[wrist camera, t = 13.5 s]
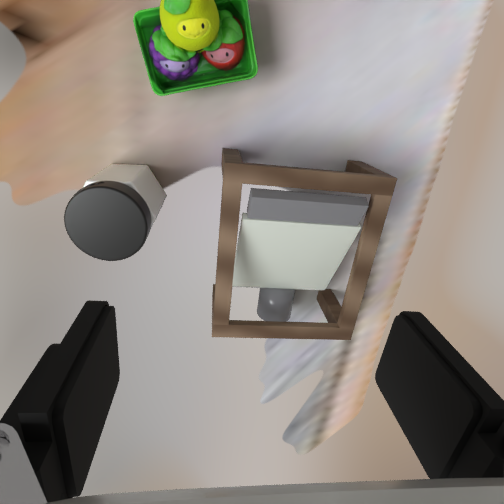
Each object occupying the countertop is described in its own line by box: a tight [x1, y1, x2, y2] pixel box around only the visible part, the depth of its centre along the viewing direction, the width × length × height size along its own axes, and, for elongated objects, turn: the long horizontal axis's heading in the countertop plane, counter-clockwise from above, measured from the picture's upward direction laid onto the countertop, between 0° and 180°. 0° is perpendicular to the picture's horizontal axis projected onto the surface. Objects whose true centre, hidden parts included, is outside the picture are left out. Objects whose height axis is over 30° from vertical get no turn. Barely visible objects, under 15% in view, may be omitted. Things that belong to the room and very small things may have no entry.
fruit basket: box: [133, 0, 258, 96], centre depth 33 cm, size 11×9×11 cm
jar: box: [64, 164, 167, 261], centre depth 39 cm, size 9×8×12 cm
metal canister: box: [257, 288, 295, 322], centre depth 51 cm, size 5×5×5 cm
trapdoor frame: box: [212, 148, 397, 340], centre depth 45 cm, size 22×19×10 cm
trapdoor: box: [232, 188, 369, 290], centre depth 43 cm, size 17×14×2 cm
